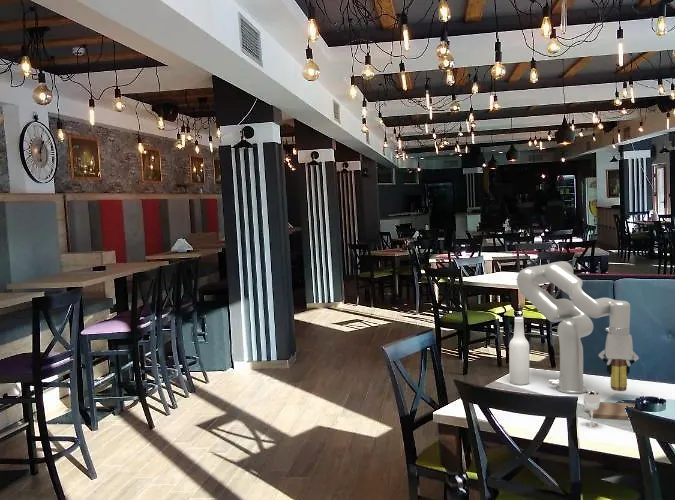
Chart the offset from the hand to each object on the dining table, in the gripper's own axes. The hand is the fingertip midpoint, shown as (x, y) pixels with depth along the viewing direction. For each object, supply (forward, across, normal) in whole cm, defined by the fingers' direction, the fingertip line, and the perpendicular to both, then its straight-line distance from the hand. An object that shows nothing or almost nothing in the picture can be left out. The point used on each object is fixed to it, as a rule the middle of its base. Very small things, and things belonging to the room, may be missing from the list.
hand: (617, 374), depth 272 cm
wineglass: (+11, -12, -33) cm, 37 cm away
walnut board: (+11, -2, -17) cm, 20 cm away
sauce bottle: (+7, 0, 0) cm, 7 cm away
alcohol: (+12, -39, +18) cm, 45 cm away
